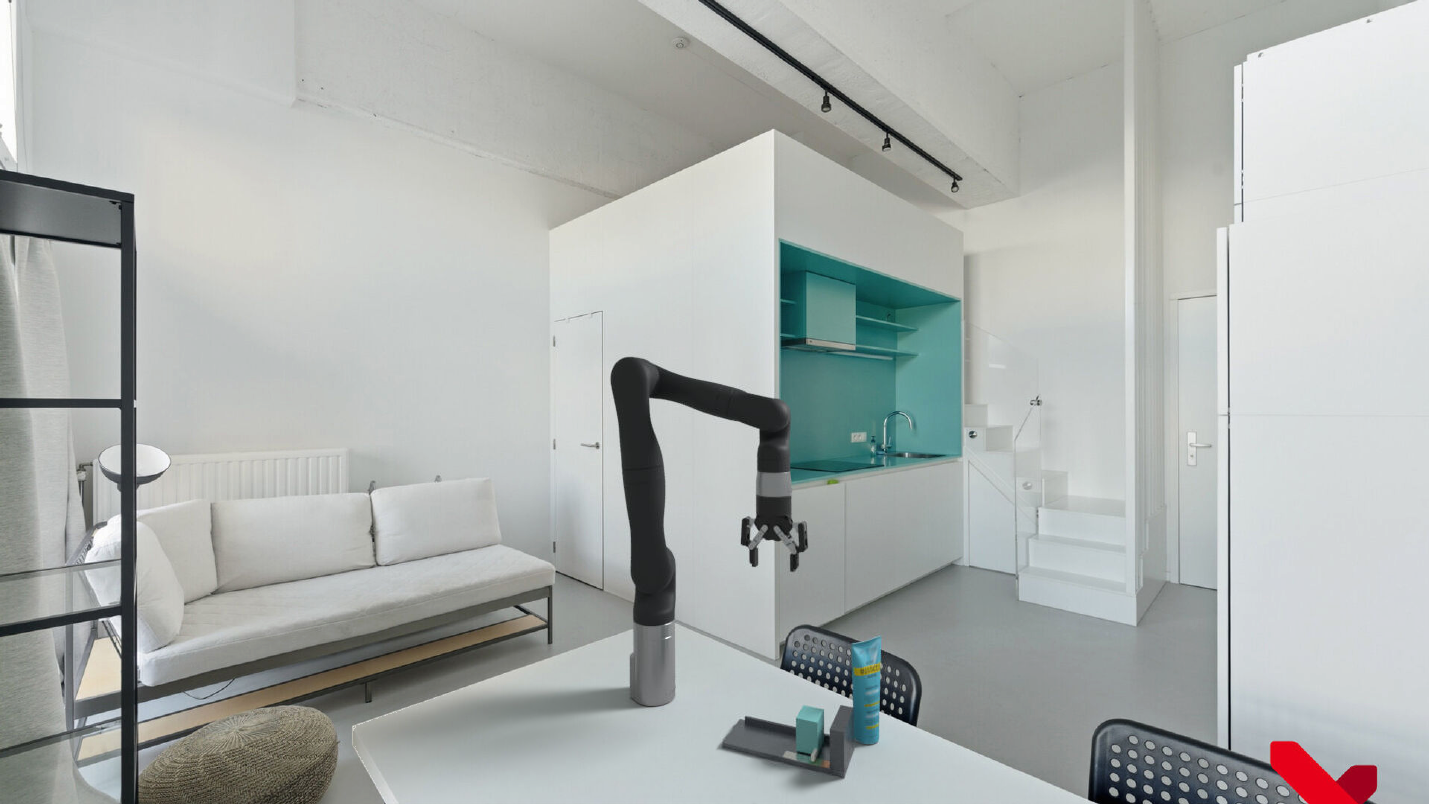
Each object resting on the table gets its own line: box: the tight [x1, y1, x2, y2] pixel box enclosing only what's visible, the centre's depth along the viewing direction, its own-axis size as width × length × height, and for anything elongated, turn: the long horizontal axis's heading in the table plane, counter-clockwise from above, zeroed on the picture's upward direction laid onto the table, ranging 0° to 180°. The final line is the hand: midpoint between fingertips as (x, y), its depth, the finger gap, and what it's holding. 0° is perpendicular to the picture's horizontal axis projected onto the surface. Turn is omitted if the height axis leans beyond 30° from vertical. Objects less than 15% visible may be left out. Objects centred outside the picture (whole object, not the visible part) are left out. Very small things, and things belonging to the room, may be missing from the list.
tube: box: [850, 635, 882, 745], centre depth 116 cm, size 7×5×19 cm, turn 123°
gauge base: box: [721, 704, 855, 779], centre depth 112 cm, size 23×9×8 cm, turn 66°
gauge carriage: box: [795, 704, 825, 762], centre depth 110 cm, size 4×7×6 cm, turn 156°
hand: (773, 568), depth 127 cm, fingers open, 8 cm apart
